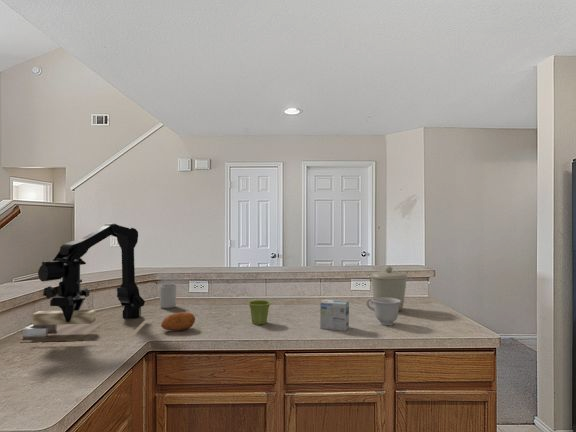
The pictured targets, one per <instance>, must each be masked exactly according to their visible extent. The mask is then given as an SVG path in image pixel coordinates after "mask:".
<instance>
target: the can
mask: <svg viewBox="0 0 576 432" xmlns="http://www.w3.org/2000/svg"><path fill="white" fill-rule="evenodd" d="M159 290H160V292H159V295H160V296H159V297H160V298H159V306H160V308H162V309H165V310H166V309H174V308H175V306H176V305H177V304H176V303H177V302H176V301H177V285H176V283H175V282H163V283H161V285H160V287H159Z"/></svg>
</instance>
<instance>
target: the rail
mask: <svg viewBox="0 0 576 432" xmlns="http://www.w3.org/2000/svg"><path fill="white" fill-rule="evenodd" d="M96 314H97V313H96V310H95V309H85V310H84V309H82V310H74V312H73V314H72V317H71V320H70V322H66V320H65V317H64V314H63V311H62V310H38V311H36V312H33V313H32V324H33V325H54V324H92V323H93V322H97V321H96V318H97V317H96V316H97V315H96Z"/></svg>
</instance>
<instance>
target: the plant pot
mask: <svg viewBox="0 0 576 432" xmlns="http://www.w3.org/2000/svg"><path fill="white" fill-rule="evenodd" d="M248 305H249V309H250V317H251V323H252V324H253V325H256V326H259V325H265V324H267V322H268V315H269V308H270V305H271V301H269V300H262V299H261V300H259V299H258V300H257V299H256V300H250V301H249V302H248Z"/></svg>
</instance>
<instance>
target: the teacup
mask: <svg viewBox="0 0 576 432" xmlns="http://www.w3.org/2000/svg"><path fill="white" fill-rule="evenodd" d="M365 302H366V307H367V308H368V309H369V310H371V311H373V312H374V316H375V318H376V319H377V321H379V324H380V325H382V326H387V325H389V326H393V325H394V322H395V321H397V319H398V317H399V311H400V310H399V304H400V302H401V300H399V299H395V298H388V297H378V298H373V297H372V298H371V297H368V298H367V299H366V301H365ZM369 302H371V304H372V305H373V307H372V306H371V305H370V303H369ZM398 310H399V311H398Z"/></svg>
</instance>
